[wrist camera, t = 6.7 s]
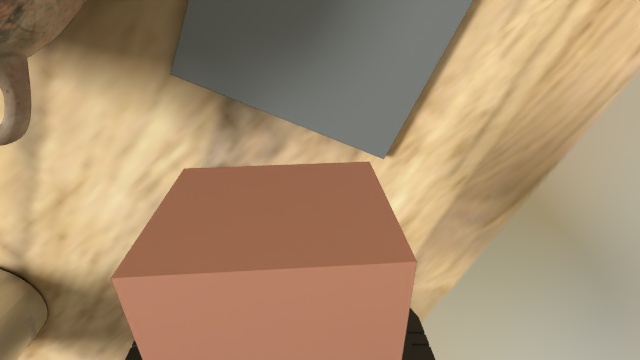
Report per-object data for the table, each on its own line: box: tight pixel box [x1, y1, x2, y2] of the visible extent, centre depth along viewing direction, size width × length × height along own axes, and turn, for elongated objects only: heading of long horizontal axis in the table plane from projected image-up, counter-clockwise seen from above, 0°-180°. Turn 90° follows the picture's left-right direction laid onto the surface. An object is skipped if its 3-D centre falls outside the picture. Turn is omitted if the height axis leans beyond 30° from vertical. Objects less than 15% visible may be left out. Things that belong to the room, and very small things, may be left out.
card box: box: [111, 162, 417, 360], centre depth 10 cm, size 10×6×5 cm, turn 1°
